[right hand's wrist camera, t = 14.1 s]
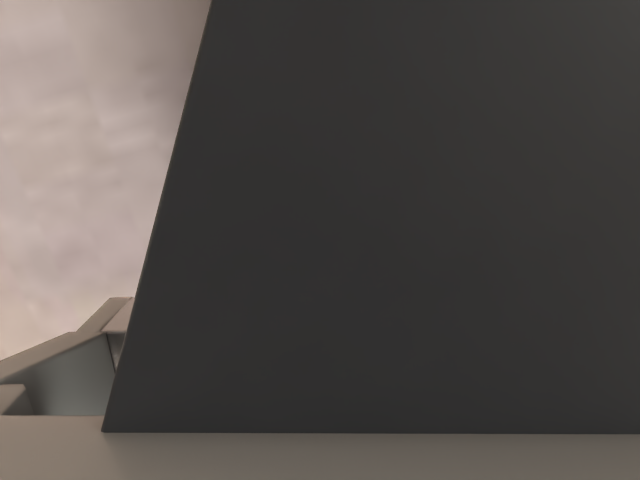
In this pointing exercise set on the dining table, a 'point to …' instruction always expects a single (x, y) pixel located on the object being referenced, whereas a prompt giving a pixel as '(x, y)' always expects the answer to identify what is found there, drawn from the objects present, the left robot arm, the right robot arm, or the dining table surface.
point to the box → (396, 225)
